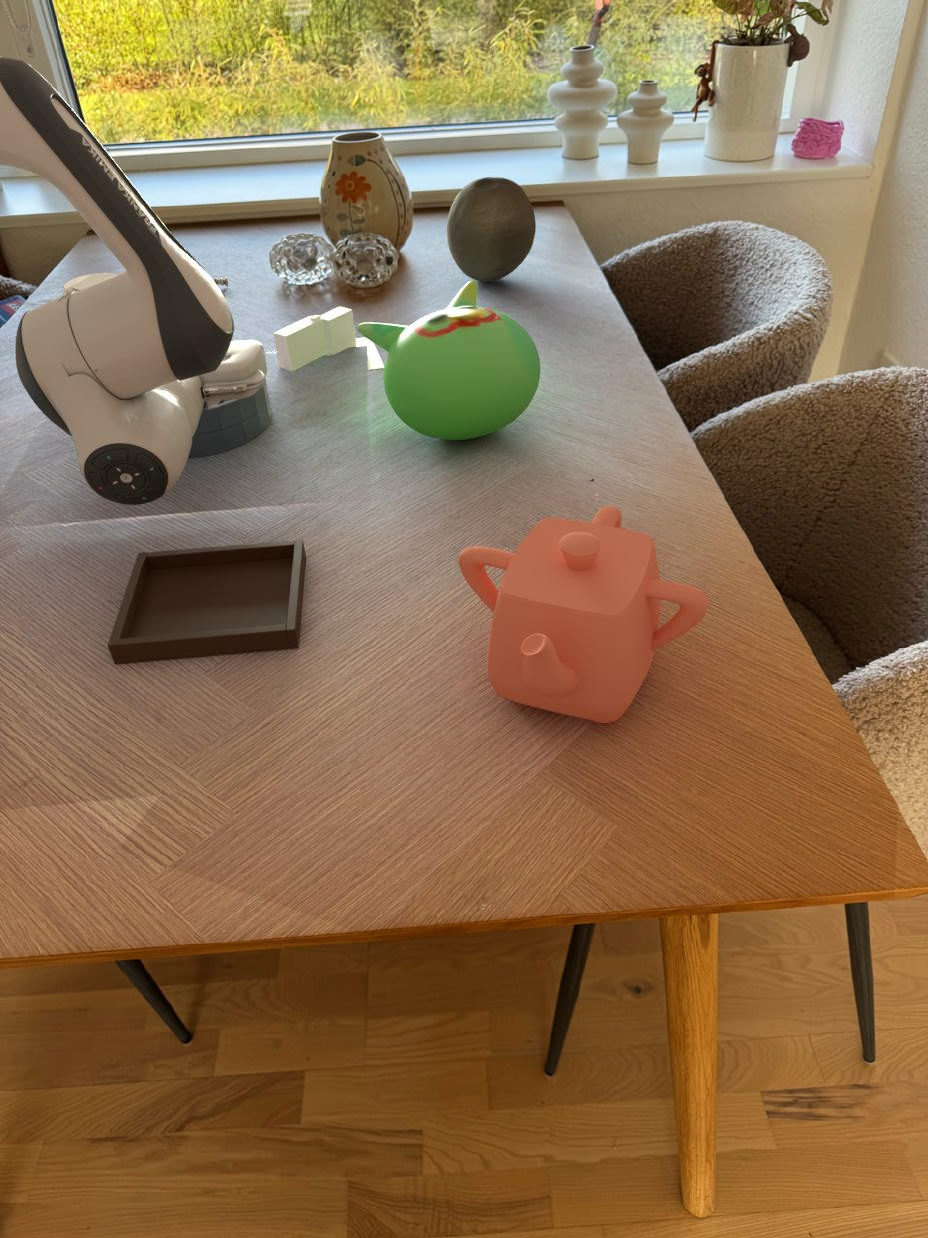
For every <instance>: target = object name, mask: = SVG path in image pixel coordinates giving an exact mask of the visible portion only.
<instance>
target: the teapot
mask: <svg viewBox="0 0 928 1238" xmlns="http://www.w3.org/2000/svg"><path fill="white" fill-rule="evenodd" d="M622 515H623V514H622V511H621V510H620V509H619V508H618V507H616V506H614V505H605V506H603V507H601V508H600V509H599V510H598V511H597V512H596V514H595V515H594V517H593V519H592V521H591V522H588V521H581V520H576V519H569V518H560V517H552V516H547V517H544V518H543V519H541V520H540V521H539V522H537V523H536V524H535V525H534V526H533V527H532V528H531V530H530V531H529V532H528V534H527V535H526V536H525V538H524V539H523V540H522V541H521V543H520V545H519V546H518V548H517V549H516V551H515V553H513V552H511V551H505V550H504V549H503V550H502V549H499V548H493V547H488V546H481V545H480V546H479V545H476V546H469V547H466V548H465V549H463V550H461V552H460V553H459V556H458V561H457V562H458V563H457V564H458V568H459V570H460V572H461V574H462V576H463V578H464V580H465V582H466V583H467V584H468V586H469V587H470V589H471V590H472V591H473V592H474V593H475V594H476V596H477V597H478V598H479V599H480V600H481V601H482V602H483V603H484V604H485V606H486V607H487V608H488V609H489V610H490V611H491V612H492V618H491V622H490V627H489V633H488V641H487V655H486V668H487V669H486V671H487V672H486V674H487V677H488V679H489V683H490V685H491V687H492V688H493V690H494V693H495V694H496V695H497V696H499V697H500V698H503V699H504V700H505V699H506V700H508V701H512V702H514V703H515V704H519V705H525V706H528V707H529V706H530V707H532V708H537V709H541V710H545V711H548V712H552V713H557V714H560V715H561V714H562V715H565V716H571V717H575V718H580V719H584V720H589V721H593V722H595V723H598V724H609V723H613V722H616V721H617V720H619V719H620V718H621V717H622V716H623V715H624V714H625V713H626V711H627V709H628V708H629V707H630V705H631V704H632V702H633V701H634V699H635V697H636V695H637V693H638V692H639V690H640V688H641V686H642V685H643V684H644V683H643V682H644V681H645V679H646V677H647V675H648V672H649V671H650V668H651V666H652V663H653V660H654V657H655V654H656V650H658V649H659V648H661V647H664V646H666V645H667V644H669V643H670V642H671V643H672V641H674V640H676V639H678V638H679V637H681V636H683V635H684V634H686V633H688V632H690V631H691V630H692V629H694V628H695V627H696V626H697V625H698V624H699V623H701V621H702V620H703V619H704V617H705V616H706V614H707V611H708V609H709V606H710V604H709V601H710V600H709V597H708V596H707V594H706V593H704V591H702V590H701V589H699V588H697V587H695V586H692V585H688V584H685V583H680V582H674V581H669V580H661V578H660V577H661V576H660V569H659V564H658V558H657V549H656V545H655V540H654V539H653V536H651V535H649V534H648V533H645V532H640V531H635V530H631V529H627V528H622V521H623V517H622ZM485 567H491V568H496V569H500V570H505V572H504V574H503V577H502V580H501V583H500V586H499V589H498V588H497V586H495V584H494V582H493V581H492V579H491V578H490V576H489V574H488V572H487V569H486V568H485ZM662 601H666V602H671V603H674V604H677V605H678V606H679V609H678V610H677V612H676V613H675V614H674V615H673V616H672V617H671V618H670V619H669V620H668V621H667V622H666V623H664V624H663V625H662V626H661V627H660V623H661V622H660V621H661V605H662Z"/></svg>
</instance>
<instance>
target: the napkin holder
mask: <svg viewBox="0 0 928 1238" xmlns="http://www.w3.org/2000/svg"><path fill="white" fill-rule="evenodd" d="M354 320H355V319H354V312H353V309H352V308H349V307H345V306H337V307H335V308H333V309H330V310H329V311H326V312H325V313H324V312H323V313H322V314H320V315H319V314H314V315H308V316H306V317H304V318H302V319H300V320H297V321H295V322H293V323H291V324H289V325H287V326H285V327H282V328H280V329H277V330H276V331H274V332H273V338H274V344H275V349H273V350H274V351H275V350H277V351H276V352H277V353H276V352H274V351H272V352H273V353H272V352H270V351H269V350H268V351H269V353H268V352H266V354H276V355H277V361H278V367H279V369H282V370H286V371H289V372H294V371H296V370H298V369H301V367H304V366H306V365H307V364H310V363H311V362H314V361H316V360H317V359H320V358H322V357H323V356H327V357H330V356H335V355H337V354H339V353H341V352H343V351H345V350H347V349H348V348H358V347H366V348H367V349H366V351H367V354H366V355H367V371H370V370H378V369H384V365H385V364H384V362H383V360H382V357H381V356H380V353H379V351H378V349H377V347H376V344H375V343H373V342H372V341H370V340H369V339H367V338H366V337H364V336H363V337H356V328H355V321H354Z"/></svg>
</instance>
